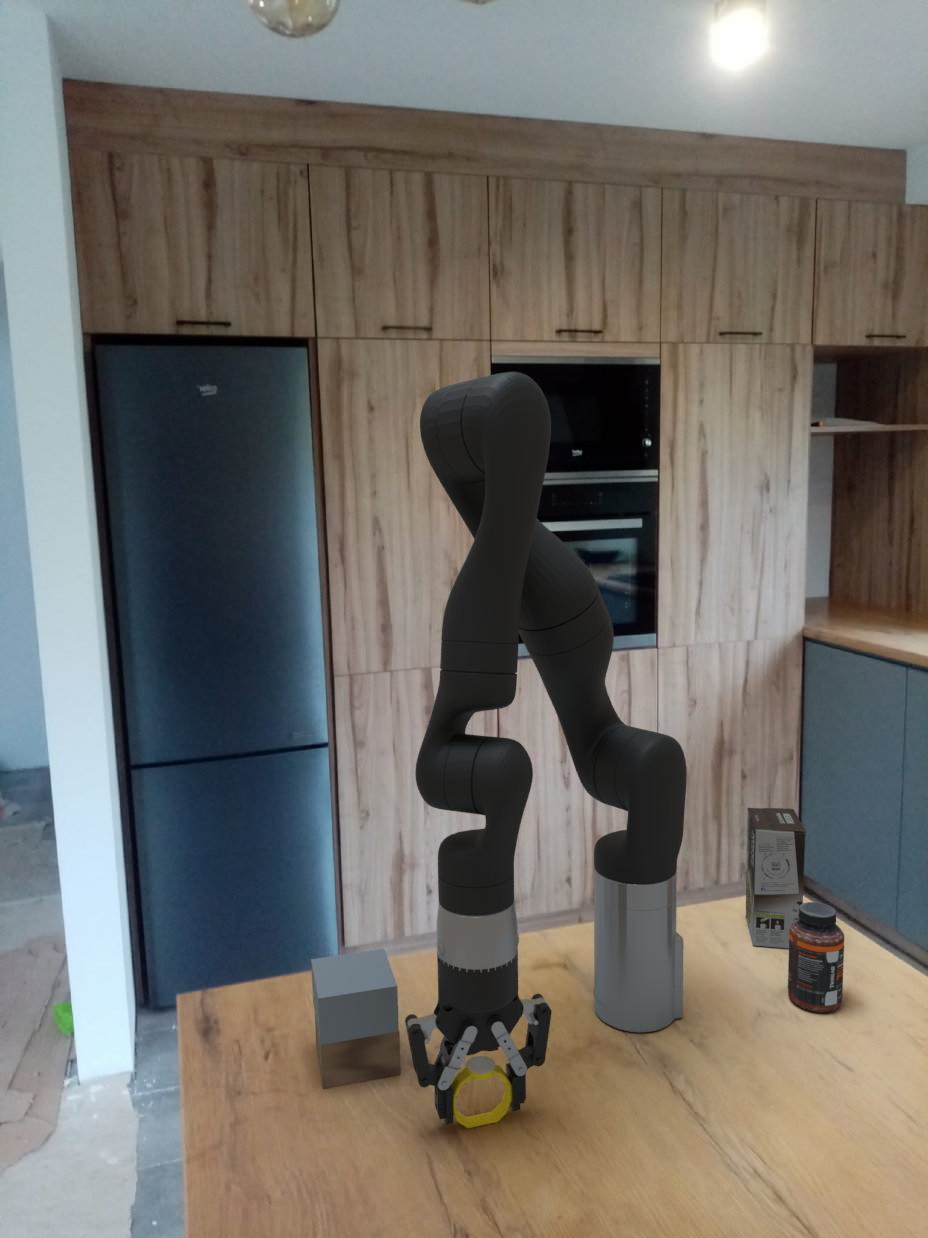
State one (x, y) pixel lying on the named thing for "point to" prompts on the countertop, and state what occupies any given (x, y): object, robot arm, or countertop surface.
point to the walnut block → (358, 1059)
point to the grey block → (354, 996)
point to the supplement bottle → (816, 959)
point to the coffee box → (773, 874)
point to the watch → (481, 1071)
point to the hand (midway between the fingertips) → (480, 1111)
